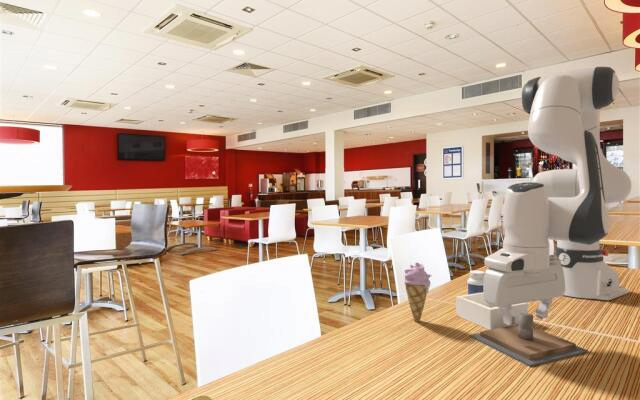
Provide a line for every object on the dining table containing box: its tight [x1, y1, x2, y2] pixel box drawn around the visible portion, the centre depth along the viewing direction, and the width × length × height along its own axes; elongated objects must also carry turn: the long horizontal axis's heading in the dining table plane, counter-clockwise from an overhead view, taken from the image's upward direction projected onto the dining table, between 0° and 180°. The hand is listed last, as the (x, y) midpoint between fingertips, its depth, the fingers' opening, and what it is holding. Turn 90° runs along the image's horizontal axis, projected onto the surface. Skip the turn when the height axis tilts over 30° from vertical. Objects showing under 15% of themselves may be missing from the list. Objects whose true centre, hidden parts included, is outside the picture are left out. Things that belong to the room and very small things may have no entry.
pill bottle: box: [466, 269, 485, 295], centre depth 110 cm, size 5×5×10 cm
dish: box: [455, 292, 529, 330], centre depth 99 cm, size 12×12×5 cm
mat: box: [469, 332, 589, 367], centre depth 83 cm, size 16×16×1 cm
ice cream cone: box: [403, 261, 432, 323], centre depth 98 cm, size 7×6×15 cm
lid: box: [479, 312, 577, 360], centre depth 83 cm, size 13×13×6 cm
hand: (525, 320), depth 83 cm, fingers open, 8 cm apart
